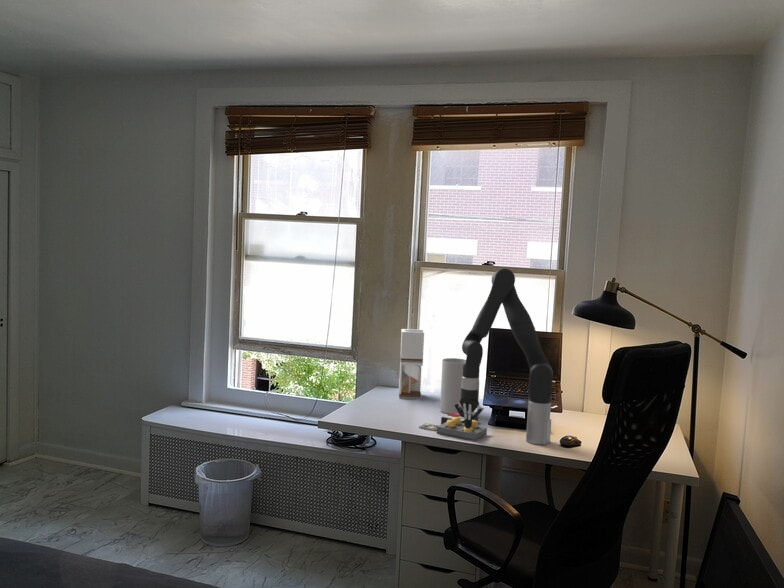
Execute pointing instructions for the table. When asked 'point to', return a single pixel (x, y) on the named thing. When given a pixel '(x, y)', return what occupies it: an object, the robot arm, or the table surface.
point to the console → (462, 432)
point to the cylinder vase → (451, 384)
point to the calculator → (450, 416)
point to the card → (429, 427)
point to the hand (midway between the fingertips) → (467, 427)
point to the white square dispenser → (411, 363)
